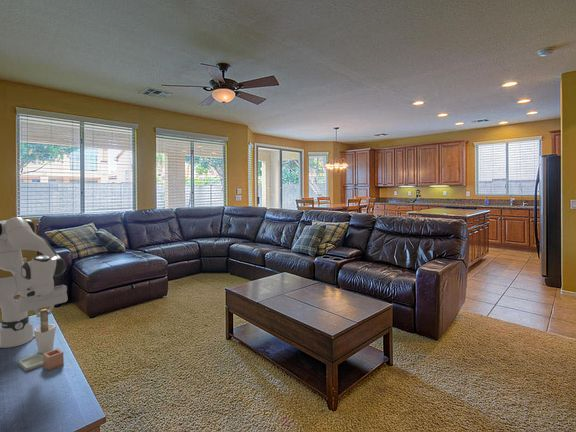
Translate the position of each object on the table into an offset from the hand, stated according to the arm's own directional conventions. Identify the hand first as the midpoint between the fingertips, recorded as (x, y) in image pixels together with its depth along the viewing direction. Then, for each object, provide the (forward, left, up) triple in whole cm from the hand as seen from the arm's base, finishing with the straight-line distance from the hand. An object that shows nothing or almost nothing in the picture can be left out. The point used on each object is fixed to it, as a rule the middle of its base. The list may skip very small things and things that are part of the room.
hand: (43, 315), depth 157 cm
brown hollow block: (+5, +2, -26) cm, 26 cm away
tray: (-6, -3, -26) cm, 27 cm away
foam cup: (-17, +6, -26) cm, 32 cm away
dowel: (0, 0, -8) cm, 8 cm away
